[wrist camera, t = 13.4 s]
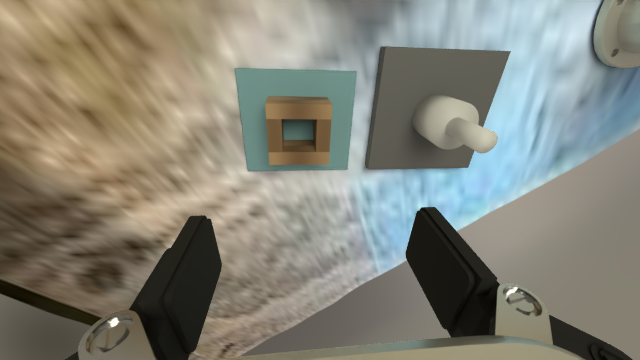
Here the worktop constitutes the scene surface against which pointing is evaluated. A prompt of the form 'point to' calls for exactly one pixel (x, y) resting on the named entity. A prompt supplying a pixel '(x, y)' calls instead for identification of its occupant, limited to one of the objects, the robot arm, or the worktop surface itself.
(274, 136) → the walnut link
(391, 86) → the stand
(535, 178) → the worktop surface
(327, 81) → the mat
